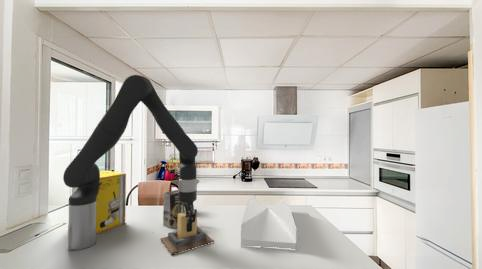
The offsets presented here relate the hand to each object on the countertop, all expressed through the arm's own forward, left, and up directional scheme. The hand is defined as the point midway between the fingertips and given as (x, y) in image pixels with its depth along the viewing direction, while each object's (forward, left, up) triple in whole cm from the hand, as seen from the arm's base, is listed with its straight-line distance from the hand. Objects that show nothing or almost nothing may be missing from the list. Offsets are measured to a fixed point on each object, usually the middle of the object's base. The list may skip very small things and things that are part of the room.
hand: (187, 229), depth 96 cm
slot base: (0, 0, -5) cm, 5 cm away
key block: (0, 0, -3) cm, 3 cm away
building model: (+40, -7, -6) cm, 41 cm away
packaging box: (-29, +39, -6) cm, 49 cm away
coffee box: (+2, +21, -6) cm, 22 cm away
